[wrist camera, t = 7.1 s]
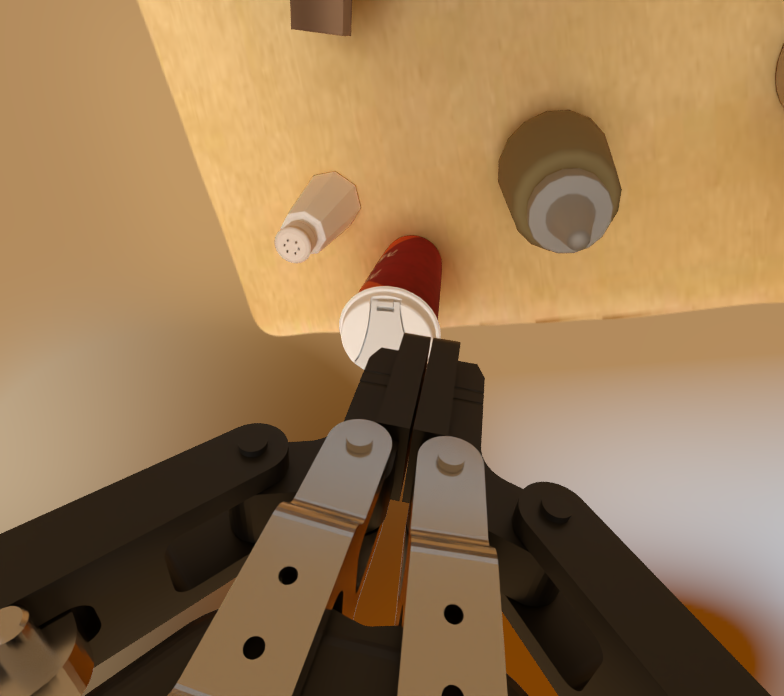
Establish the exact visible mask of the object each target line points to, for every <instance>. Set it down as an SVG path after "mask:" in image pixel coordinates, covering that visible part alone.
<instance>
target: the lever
mask: <svg viewBox="0 0 784 696" xmlns="http://www.w3.org/2000/svg"><path fill="white" fill-rule="evenodd" d="M290 6H291V29H295V30H303V31H310V32H318V33H325V34H333V35H340V36H351V18H352V0H290Z"/></svg>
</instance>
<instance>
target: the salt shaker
mask: <svg viewBox="0 0 784 696" xmlns="http://www.w3.org/2000/svg"><path fill="white" fill-rule="evenodd" d="M360 209H361V207H360V203H359V199H358V195H357V191H356V187H355V185H354V184H352V183H351V182H350V181H348V180H347V179H345V178H344V177H342V176H341V175H340V174H338V173H337V172H330V173H325V174H319V175H314V176H313V177H312V179H311V180H310V182H309V183H308V185H307V186H306V188H305V189H304V190H303V192H302V193H301V195H300V196H299V198H298V199H297V201H296V202H295V204H294V205H293V207H292V208H291V210H290V211H289V213H288V215H287V217H286V219H285V220H284V222H283V224H282V226H281V230H280V231H279V232H278V233H277V235H276V237H275V247H276V250H277V252H278V253H279V255H280V256H281V257H282V258H283V259H285V260H286V261H288V262H291V263H301V262H304V261H305V260H306V259H308V257H309V256H310V254H315V253H319V252H320V251H321V250H323V249H324V248H325V247H326V246H327V245H328V244H330V243H331V242H332V241H333V240H334V239H335V238H336V237H338V236H339V235H340V234H341V233H342V232H343V231H344V230H346V229H347V228H348V227H349V226H350V225H351V223H352V221H353V220H354V218H355V217H356V215H357V213H358V212H359V210H360Z"/></svg>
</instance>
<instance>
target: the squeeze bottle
mask: <svg viewBox="0 0 784 696" xmlns="http://www.w3.org/2000/svg"><path fill="white" fill-rule="evenodd" d="M498 183H499V185H500V188H501V190H502V193H503V195H504V198H505V200H506V203H507V205H508V208H509V210H510V213H511V215H512V218H513V220H514V222H515V225H516V227H517V230H518V232H519V233H520V234H521V235H523V236H524V237H525V238H526V239H527V240H528V241H529V242H530V243H531V244H533V245H535V246H538V247H541V248H543V249H546V250H549V251H553V252H556V253H575V252H578V251H580V250H583V249H586V248H588V247H590V246H591V245H592V244H594V243H595V242H596V241H597V240H599V239H600V238H601V237H602V236H603V234H604V233H605V231H606V230H607V228H608V226H609V225H610V223H611V221H612V220H613V218H614V217H615V215H616V213H617V212H618V208H619V202H620V196H621V190H622V189H621V186H620V182H619V179H618V175H617V171H616V168H615V165H614V162H613V159H612V156H611V152H610V149H609V146H608V143H607V140H606V137H605V134H604V133H603V132H602V131H601V130H600V128H599V127H598V126H597V125H596V124H595V123H594V122H593V121H592V120H591V119H590V118H589V117H586V116H583V115H581V114H578V113H576V112H573V111H570V110H564V111H549V112H544V113H542V114H540V115H538V116H536V117H534V118H532V119H530V120H528V121H526V122H524V123H523V124H522V125H521V126H520V127H519V128H518V129H517V130H516V132H515V133H514V134H513V135H512V136H511V137H510V138H509V139H508V140H507V143H506V145H505V147H504V150H503V152H502V154H501V157H500V159H499V172H498Z"/></svg>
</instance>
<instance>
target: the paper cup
mask: <svg viewBox="0 0 784 696" xmlns="http://www.w3.org/2000/svg"><path fill="white" fill-rule="evenodd" d="M441 273H442V262H441V257H440V254H439V252H438V250H437V248H436V247H435V246H434V245H433V244H432V243H431V242H430V241H428V240H427V239H425V238H422V237H419V236H404V237H401V238H399V239H397V240H395V241H394V242H393V243H392V244H391V245H390V246H389V247H388V248H387V250H386V251H385V253H384V254H383V255H382V257H381V258H380V260H379V261H378V263H377V264H376V266H375V268H374V269H373V271H372V272H371V274H370V275H369V277H368V278H367V280H366V281H365V283H364V285H363V286H362V288H361V289H360V291H359V292H358V293H357V294H356V295H355V296H353V297H352V298H351V299H350V300H349V301H348V302H347V303H346V305H345V307H344V308H343V310H342V313H341V316H340V321H339V329H340V334H341V339H342V344H343V346H344V349H345V351H346V353H347V355H348V356H349V357H350V359H351V360H352V361H353V362H354V361H355V362H354V363H355V364H357V365H358V366H359V367H361V368H362V369H365V367H366V364H367V362H368V359H369V357H370V356H371V355H373V354H374V353H375V352H376V351H378V350H379V349H380V348H381V347H382V348H388V349H394V350H399V347H400V344H401V341H402V338H403V334H404V333H410V334H416V335H422V336H427V337H431V343H430V349H429V355H430V351H431V346H432V341H433V338H439V339H440V337H441V335H440V326H439V322H438V312H439V300H440V288H441ZM429 355H428V360H429ZM427 363H428V362H427Z"/></svg>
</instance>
